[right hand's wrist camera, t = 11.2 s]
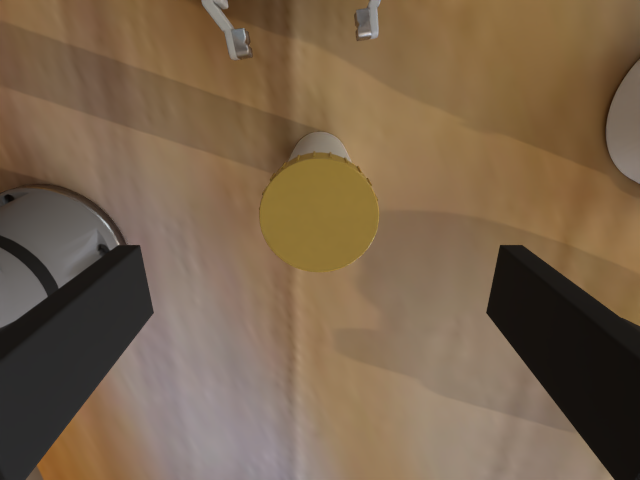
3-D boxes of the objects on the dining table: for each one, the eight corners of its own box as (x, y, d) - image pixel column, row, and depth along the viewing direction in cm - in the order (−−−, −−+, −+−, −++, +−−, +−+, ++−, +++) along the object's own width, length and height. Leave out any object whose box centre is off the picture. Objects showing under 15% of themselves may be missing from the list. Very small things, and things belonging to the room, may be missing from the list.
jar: (352, 181, 36) (378, 252, 20) (299, 192, 37) (282, 271, 20) (341, 125, 34) (361, 153, 18) (285, 138, 35) (254, 177, 18)
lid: (382, 246, 21) (389, 261, 20) (279, 267, 22) (276, 283, 20) (364, 139, 19) (369, 143, 17) (249, 165, 20) (242, 173, 18)
